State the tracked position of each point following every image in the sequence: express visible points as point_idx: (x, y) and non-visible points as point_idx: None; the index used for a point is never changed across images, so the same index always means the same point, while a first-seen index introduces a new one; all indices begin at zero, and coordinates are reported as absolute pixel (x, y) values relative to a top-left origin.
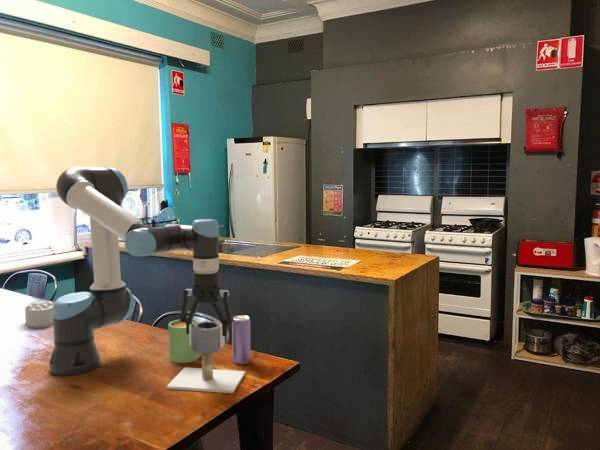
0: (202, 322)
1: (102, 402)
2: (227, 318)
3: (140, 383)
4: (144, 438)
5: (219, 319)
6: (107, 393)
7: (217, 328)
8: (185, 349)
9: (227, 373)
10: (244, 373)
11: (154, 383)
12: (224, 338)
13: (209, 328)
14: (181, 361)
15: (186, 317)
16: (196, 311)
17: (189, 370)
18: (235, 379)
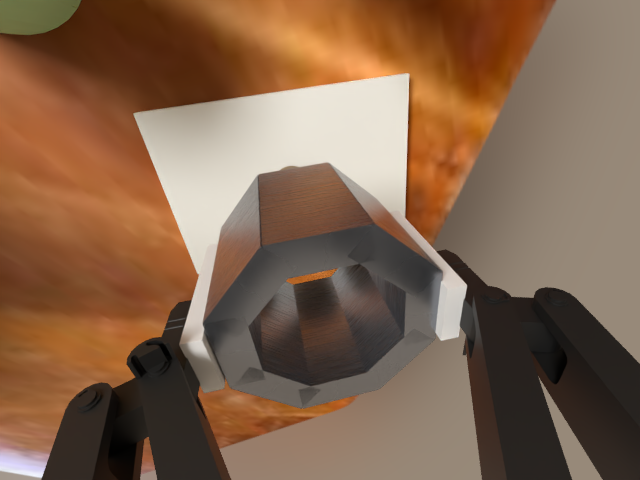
0: (257, 297)
1: (102, 372)
2: (545, 379)
3: (85, 268)
4: (300, 411)
5: (470, 383)
6: (60, 342)
7: (425, 346)
8: (18, 9)
9: (345, 120)
10: (407, 91)
11: (130, 253)
12: (413, 231)
13: (374, 367)
14: (44, 30)
15: (127, 420)
16: (209, 447)
17: (179, 139)
18: (390, 161)
